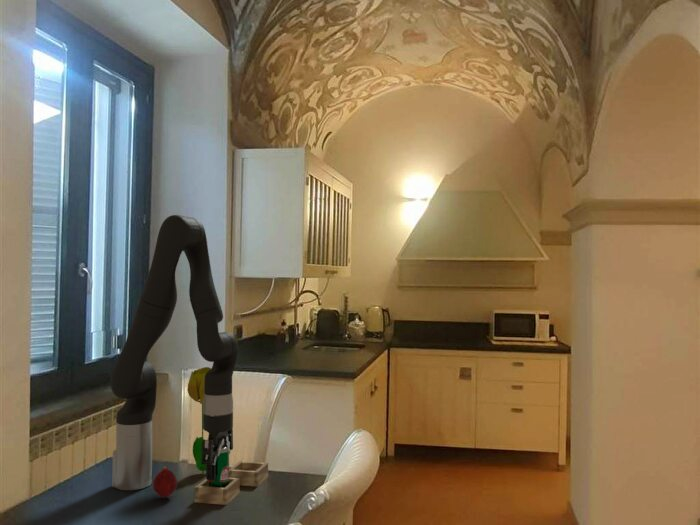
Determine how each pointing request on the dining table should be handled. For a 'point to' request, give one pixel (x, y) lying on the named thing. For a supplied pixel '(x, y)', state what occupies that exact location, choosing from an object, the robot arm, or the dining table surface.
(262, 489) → the dining table surface
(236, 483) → the oak endcap
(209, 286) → the robot arm
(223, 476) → the soda can
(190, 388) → the flower
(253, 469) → the oak endcap
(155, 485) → the onion
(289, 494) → the dining table surface
